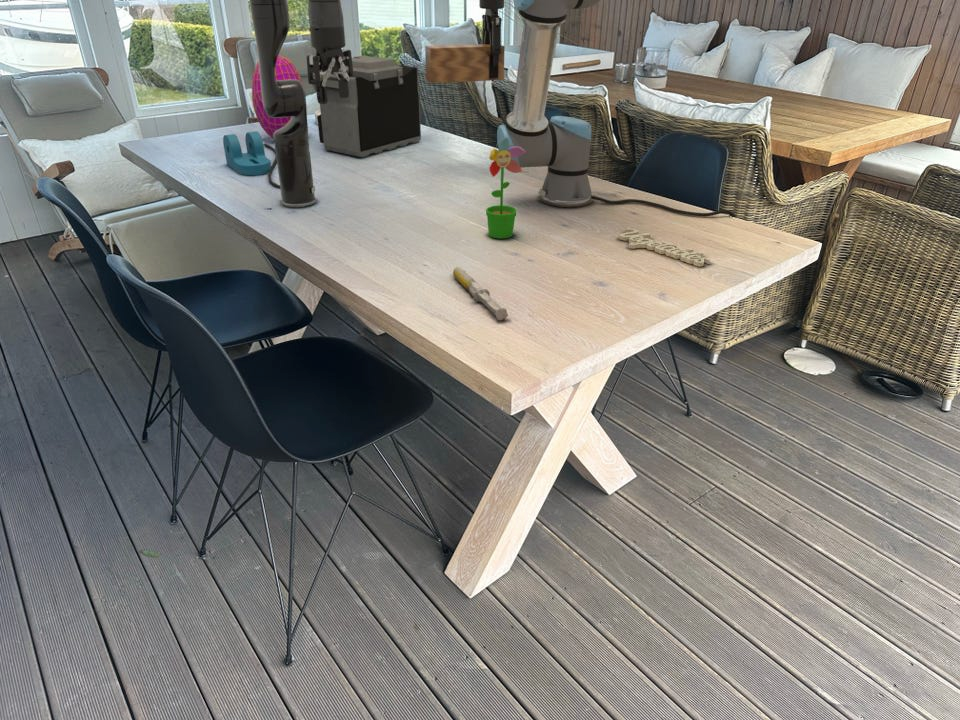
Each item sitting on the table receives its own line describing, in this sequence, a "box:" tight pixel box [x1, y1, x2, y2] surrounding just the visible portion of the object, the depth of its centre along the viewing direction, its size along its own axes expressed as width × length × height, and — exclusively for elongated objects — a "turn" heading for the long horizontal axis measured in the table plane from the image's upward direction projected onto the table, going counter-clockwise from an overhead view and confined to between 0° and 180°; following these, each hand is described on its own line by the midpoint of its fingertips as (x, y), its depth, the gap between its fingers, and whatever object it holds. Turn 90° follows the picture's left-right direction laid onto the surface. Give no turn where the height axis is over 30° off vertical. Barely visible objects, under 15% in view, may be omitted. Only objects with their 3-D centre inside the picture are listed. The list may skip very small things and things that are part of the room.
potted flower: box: [485, 137, 526, 239], centre depth 171 cm, size 9×8×25 cm
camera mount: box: [222, 131, 272, 176], centre depth 226 cm, size 18×10×10 cm, turn 35°
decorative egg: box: [251, 54, 305, 140], centre depth 257 cm, size 19×19×30 cm
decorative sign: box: [618, 227, 711, 267], centre depth 169 cm, size 26×1×10 cm
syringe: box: [452, 266, 509, 321], centre depth 145 cm, size 25×4×3 cm, turn 21°
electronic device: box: [311, 55, 422, 159], centre depth 250 cm, size 37×22×30 cm, turn 144°
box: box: [424, 43, 506, 84], centre depth 212 cm, size 24×6×10 cm, turn 109°
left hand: (333, 100), depth 161 cm, fingers open, 8 cm apart
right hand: (490, 76), depth 216 cm, fingers closed on box, 6 cm apart
